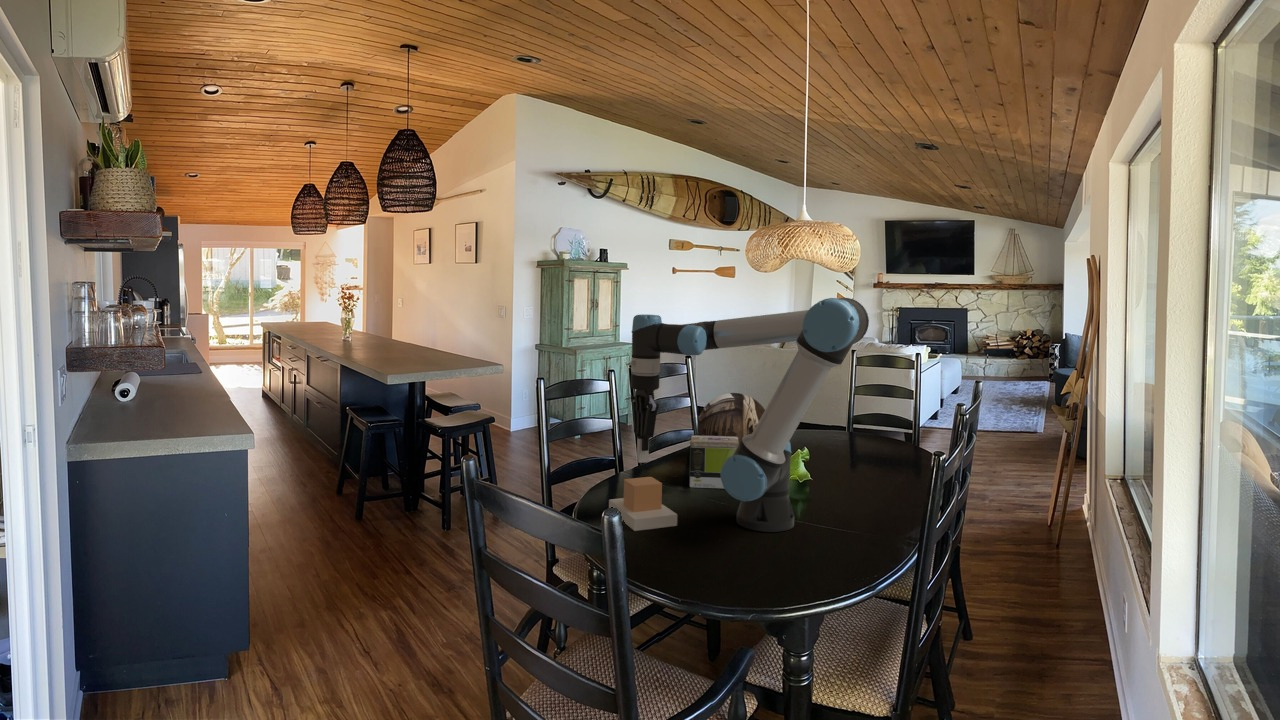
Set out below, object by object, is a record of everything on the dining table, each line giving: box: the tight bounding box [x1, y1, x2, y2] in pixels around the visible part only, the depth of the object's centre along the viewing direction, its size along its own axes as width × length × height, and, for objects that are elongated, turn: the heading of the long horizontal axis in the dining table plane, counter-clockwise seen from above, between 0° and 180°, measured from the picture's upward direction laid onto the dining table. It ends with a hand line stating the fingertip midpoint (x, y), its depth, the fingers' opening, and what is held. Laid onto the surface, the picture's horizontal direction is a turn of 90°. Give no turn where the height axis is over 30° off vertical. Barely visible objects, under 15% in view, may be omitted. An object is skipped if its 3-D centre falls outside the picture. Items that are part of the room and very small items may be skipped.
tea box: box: [689, 435, 739, 490], centre depth 237 cm, size 15×10×15 cm, turn 84°
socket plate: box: [608, 497, 678, 532], centre depth 205 cm, size 18×12×3 cm, turn 24°
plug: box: [623, 476, 663, 512], centre depth 204 cm, size 7×8×10 cm
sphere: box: [696, 392, 766, 443], centre depth 261 cm, size 25×25×25 cm
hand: (642, 461), depth 203 cm, fingers closed
